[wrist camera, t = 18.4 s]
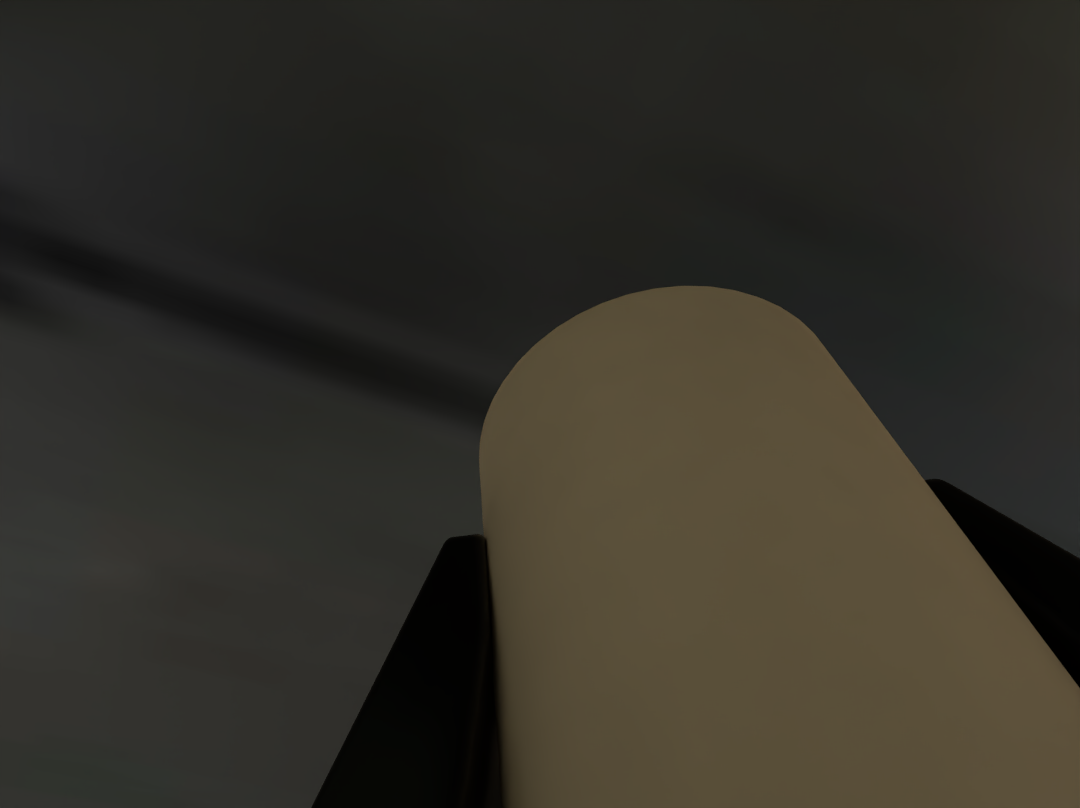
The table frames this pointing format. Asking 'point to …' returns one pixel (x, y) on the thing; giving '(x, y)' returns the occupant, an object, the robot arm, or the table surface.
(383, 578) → the table surface
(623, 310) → the candle
